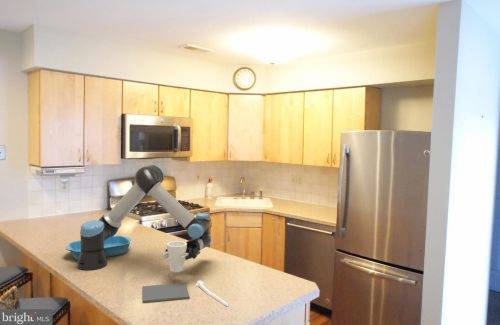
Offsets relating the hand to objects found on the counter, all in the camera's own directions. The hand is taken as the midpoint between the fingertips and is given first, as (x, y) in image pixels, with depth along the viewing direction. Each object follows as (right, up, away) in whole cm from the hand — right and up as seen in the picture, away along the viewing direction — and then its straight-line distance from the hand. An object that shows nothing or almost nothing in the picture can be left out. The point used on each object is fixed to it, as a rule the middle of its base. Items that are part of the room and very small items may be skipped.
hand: (172, 258), depth 186 cm
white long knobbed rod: (+21, -15, -10) cm, 27 cm away
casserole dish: (-52, -8, +43) cm, 68 cm away
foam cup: (+1, -7, +5) cm, 8 cm away
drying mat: (-1, -14, -10) cm, 17 cm away
